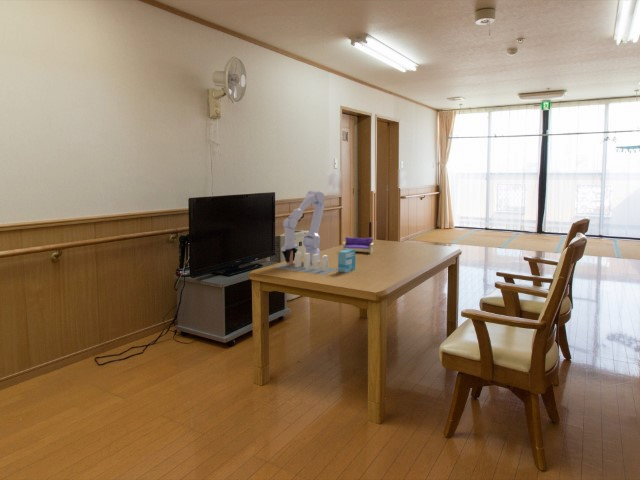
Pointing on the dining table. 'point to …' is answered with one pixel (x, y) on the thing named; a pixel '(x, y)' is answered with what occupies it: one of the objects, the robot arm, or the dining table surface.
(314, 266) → the tile
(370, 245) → the toy sofa
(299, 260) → the beige rectangular block
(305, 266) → the tile
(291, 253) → the tile
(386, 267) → the dining table surface
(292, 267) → the mat
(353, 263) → the data package
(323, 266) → the tile
